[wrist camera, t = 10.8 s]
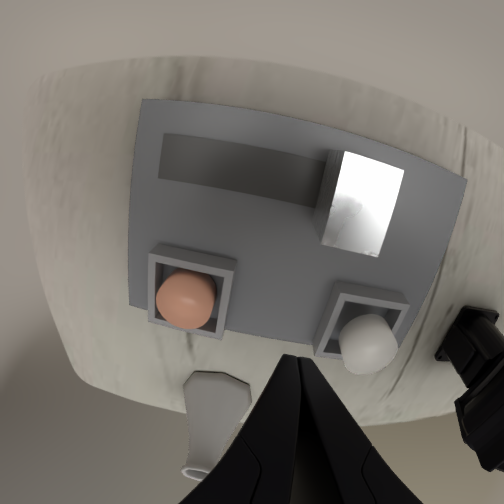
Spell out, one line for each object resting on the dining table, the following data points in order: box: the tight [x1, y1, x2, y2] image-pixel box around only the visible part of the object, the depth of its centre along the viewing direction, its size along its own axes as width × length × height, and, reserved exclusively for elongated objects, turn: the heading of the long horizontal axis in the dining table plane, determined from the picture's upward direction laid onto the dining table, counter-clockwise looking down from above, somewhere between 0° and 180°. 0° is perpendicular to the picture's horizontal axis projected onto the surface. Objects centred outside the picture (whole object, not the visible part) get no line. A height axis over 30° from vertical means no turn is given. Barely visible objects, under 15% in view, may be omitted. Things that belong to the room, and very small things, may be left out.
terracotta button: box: [156, 267, 217, 329], centre depth 18 cm, size 4×4×2 cm
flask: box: [181, 372, 252, 481], centre depth 22 cm, size 7×7×10 cm
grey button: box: [339, 314, 398, 375], centre depth 16 cm, size 4×4×2 cm
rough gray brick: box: [312, 149, 404, 257], centre depth 14 cm, size 3×4×4 cm
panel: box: [128, 99, 467, 360], centre depth 18 cm, size 22×15×4 cm
